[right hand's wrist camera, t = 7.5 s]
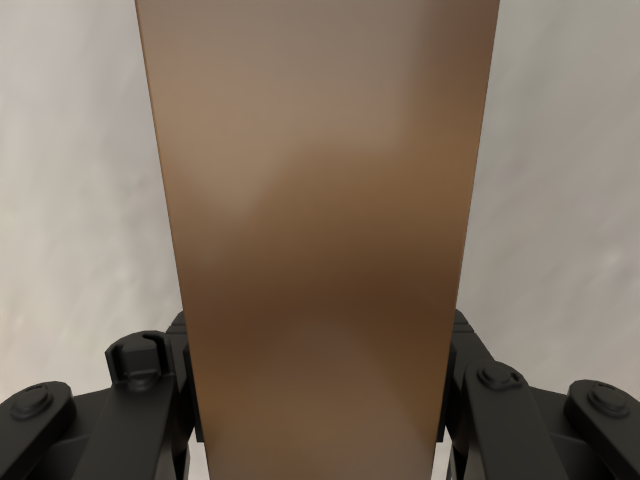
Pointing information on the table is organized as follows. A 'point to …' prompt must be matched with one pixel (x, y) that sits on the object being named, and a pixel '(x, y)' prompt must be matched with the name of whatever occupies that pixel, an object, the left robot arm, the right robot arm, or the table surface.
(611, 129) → the table surface
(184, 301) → the post
